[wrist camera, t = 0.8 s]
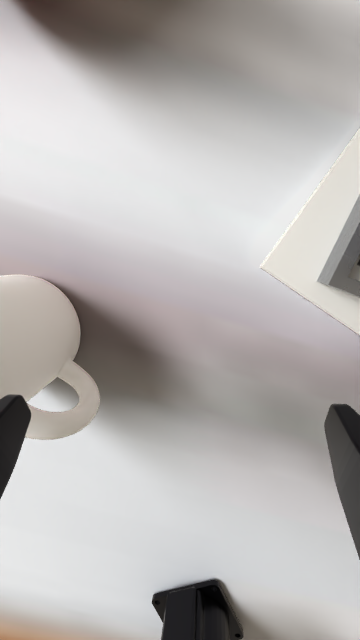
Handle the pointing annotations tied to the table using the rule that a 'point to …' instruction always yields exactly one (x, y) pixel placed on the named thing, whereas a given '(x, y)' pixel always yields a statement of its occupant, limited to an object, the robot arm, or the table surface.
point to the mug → (42, 353)
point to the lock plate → (321, 240)
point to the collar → (344, 256)
